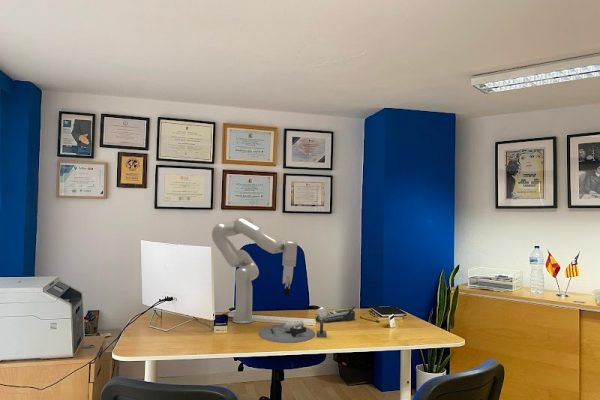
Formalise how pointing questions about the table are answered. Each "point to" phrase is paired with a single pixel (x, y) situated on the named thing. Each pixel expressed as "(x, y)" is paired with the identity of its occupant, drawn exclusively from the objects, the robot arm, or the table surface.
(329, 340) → the table surface
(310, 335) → the mat
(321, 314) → the square-base wall hook
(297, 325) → the clip-on lamp
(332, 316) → the communication device
